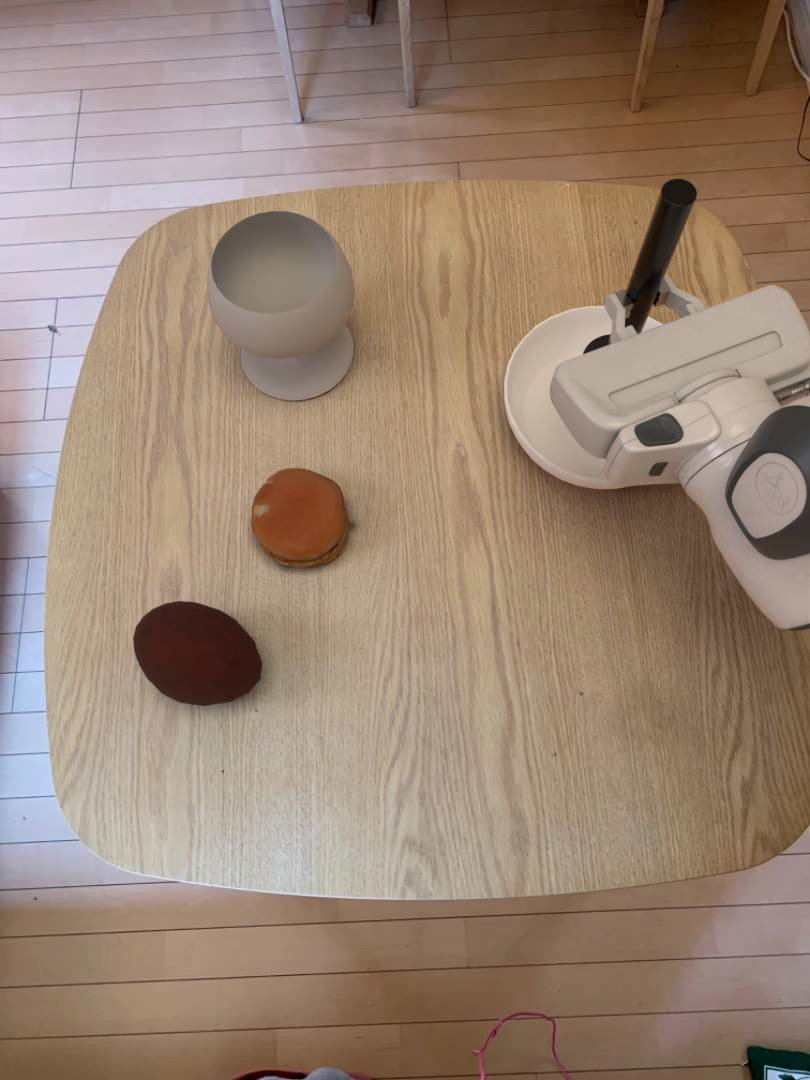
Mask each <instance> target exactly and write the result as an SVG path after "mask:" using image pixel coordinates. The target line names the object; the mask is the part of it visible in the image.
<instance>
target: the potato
mask: <svg viewBox="0 0 810 1080" xmlns="http://www.w3.org/2000/svg"><path fill="white" fill-rule="evenodd" d="M132 643H133V651H134V654H135V658H136V660H137V663H138V665H139V668H140V669H141V671H142V673H143V674H144V676H145V678H146V679H147V680H148V682H150V684H151V685H153V686H154V687H155V688H156V689H157V690H158V691H159V692H160V693H161V694H162V695H164V696H165V697H167V698H168V699H169V698H170V699H171V700H173V701H175V702H177V703H179V704H185V705H193V706H199V707H207V706H213V705H220V704H225V703H226V704H227V703H231V702H233V701H236V700H238V699H239V698H241V697H243V696H245V695H247V694H249V693H250V692H252V690H253V689H254V688H255V686H256V685H257V684H258V683H259V682H260V681H261V678H262V669H263V662H262V658H261V656H260V653H259V650H258V648H257V643H256V641H255V640H254V639H253V638H252V636H251V635H250V634H249V633H248V631H246V630H245V628H244V627H243V626H242V625H241V624H240V622H239V621H238V620H237V619H236V618H234V617H232V616H231V615H230V614H228V613H226V612H224V611H222V610H221V609H218V608H216V607H212V606H209V605H207V604H206V605H205V604H203V603H199V602H196V601H184V600H177V601H172V602H165V603H163V604H161V605H159V606H156V607H154V608H152V609H151V610H150V611H148V612H147V613H146V614H144V615H143V616H142V617H141V618H140V620H139V621H138V623H137V624H136V626H135V628H134V633H133V637H132Z"/></svg>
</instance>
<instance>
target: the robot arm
mask: <svg viewBox="0 0 810 1080" xmlns="http://www.w3.org/2000/svg"><path fill="white" fill-rule="evenodd" d="M627 295H628V293H627V291H626V289H621V290H618V291H615V292H613V293H609V294H607V295H606V297H605V300H604V302H603V303H604V304H603V306H605V310H606V311H607V313H608V315H609V316H610V318H611V320H612V322H613V323H612V332H611V344H610V345H607V346H604V347H602V348H599V349H596V350H594V351H591V352H588V353H586V354H583V355H580V356H578V357H575V358H572V359H569V360H567V361H564V362H562V363H560V364H559V365H558V366H557V367H556V370H555V372H554V375H553V378H552V381H551V385H550V399H551V401H552V403H553V405H554V407H555V409H556V411H557V413H558V414H559V416H560V418H561V419H562V421H563V422H564V424H565V425H566V427H567V428H568V430H569V431H570V433H571V434H572V436H573V437H574V438H575V440H576V441H577V442H578V444H579V445H580V446H581V447H582V448H583V449H584V450H585V451H586V452H587V453H589V454H590V455H592V456H594V457H597V458H602V459H606V460H605V463H604V468H603V471H604V474H605V477H606V479H607V480H608V482H609V483H610V484H611V485H613V486H616V487H623V488H627V487H626V486H628V487H636V486H637V487H638V486H649V485H673V484H674V485H676V484H677V485H679V484H680V485H681V487H682V489H683V490H684V492H685V494H686V495H687V496H688V497H689V499H690V500H691V501H692V502H693V503H694V504H695V505H697V506H698V507H699V508H700V510H701V511H702V512H703V515H704V516H705V517H706V519H707V522H708V524H709V529H710V533H711V538H712V540H713V542H714V544H715V546H716V547H717V550H718V551H719V553H720V554H721V556H722V558H723V560H724V561H725V563H726V564H727V566H728V568H729V569H730V570H731V571H730V572H732V574H733V575H734V577H735V578H736V580H737V581H738V583H739V585H740V586H741V587H742V589H743V590H744V592H745V593H746V594H747V596H748V597H749V599H750V600H751V601H752V602H753V604H754V605H755V606H756V608H758V610H759V611H760V612H761V613H762V615H764V617H766V619H768V621H769V622H771V623H772V624H773V625H774V627H776V628H778V629H780V630H785V631H790V632H800V631H806V630H807V631H808V630H810V329H809V327H808V325H807V323H806V320H805V318H804V317H803V314H802V312H801V311H800V309H799V307H798V305H797V303H796V302H795V300H794V298H793V297H792V295H791V294H790V292H789V291H788V290H787V289H785V288H782V287H780V286H779V285H778V286H777V285H775V284H769V285H765V286H763V287H760V288H757V289H755V290H752V291H749V292H747V293H744V294H742V295H739V296H736V297H733V298H730V299H728V300H725V301H722V302H719V303H717V304H714V305H711V306H709V307H706V306H705V304H704V302H703V300H702V299H701V298H699V297H697V296H695V295H693V294H691V293H689V292H688V291H686V290H683V289H682V288H680V287H677V286H676V284H675V283H674V281H673V280H672V278H671V276H670V275H669V274H668V273H666V274H665V276H664V279H663V281H662V283H661V286H660V288H659V291H658V293H657V296H656V298H655V301H654V303H653V306H654V308H658V307H661V306H665V307H666V308H668V309H670V310H671V311H673V312H675V314H677V315H679V316H680V317H679V318H677V319H675V320H671V321H669V322H666V323H664V324H663V323H662V324H663V325H661V326H658V327H655V328H653V329H650V330H647V331H645V332H642V333H639V334H637V332H636V331H635V329H634V327H633V326H632V325H630V326H627V327H626V328H625V319H626V318H628V317H629V316H630V314H631V310H632V309H633V306H634V303H633V301H632V299H631V298H630V297H628V296H627Z"/></svg>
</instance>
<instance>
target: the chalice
mask: <svg viewBox="0 0 810 1080" xmlns="http://www.w3.org/2000/svg"><path fill="white" fill-rule="evenodd" d="M353 277H354V276H353V271H352V268H351V265H350V263H349V261H348V259H347V256H346V254H345V252H344V250H343V248H342V246H341V245H340V244H339V242H338V241H337V240H336V239H335V237H334V236H333V235H332V234H331V232H329V230H328V229H326V228H325V227H324V226H323V225H321V224H320V223H318V222H317V221H316V220H314V219H312V218H310V217H308V216H305V215H303V214H300V213H297V212H291V211H287V210H271V211H264V212H259V213H255V214H253V215H251V216H247V217H245V218H243V219H242V220H240V221H238V222H236V223H235V224H233V226H231V227H230V228H229V229H228V230H227V231H226V232H224V233H223V235H222V236H221V238H220V239H219V240H218V242H217V243H216V244H215V247H214V249H213V251H212V253H211V256H210V258H209V261H208V268H207V273H206V293H207V301H208V307H209V310H210V313H211V315H212V318H213V321H214V322H215V325H216V326H217V327H218V329H219V330H220V332H221V333H222V334H223V336H224V337H225V338H226V339H228V340H229V341H230V342H231V343H233V344H234V345H235V346H236V347H238V348H239V349H240V363H241V366H242V370H243V373H244V374H245V376H246V377H247V379H248V381H249V382H250V383H251V384H252V385H253V386H254V387H255V388H256V389H257V390H259V391H260V392H262V393H264V394H265V395H267V396H270V397H272V398H275V399H279V400H285V401H304V400H309V399H312V398H315V397H318V396H321V395H323V394H325V393H327V392H328V391H330V390H331V389H333V388H334V387H335V386H337V385H338V384H339V383H340V382H341V381H342V379H343V378H344V377H345V375H346V374H347V373H348V371H349V369H350V367H351V364H352V362H353V357H354V351H355V350H354V340H353V337H352V333H351V331H350V329H349V327H348V326H347V324H346V323H347V320H348V319H349V317H350V314H351V311H352V309H353V307H354V299H355V282H354V278H353Z"/></svg>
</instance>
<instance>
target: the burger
mask: <svg viewBox="0 0 810 1080" xmlns="http://www.w3.org/2000/svg"><path fill="white" fill-rule="evenodd" d="M344 499H345V498H344V495H343V492H342V488H341V487H340V485H339V484H338V483H337V482H336V481H335V480H333V479H331V478H329V477H328V476H326V475H323V474H320V473H318V472H315V471H313V470H310V469H306V468H300V467H293V468H292V467H290V468H284V469H280V470H277V472H275V473H273V474H271V475H270V476H269V477H268V478H267V479H266V482H265V483H264V484H263V485H262V486H260V487H259V489H258V491H256V494H255V495H254V497H253V501H252V506H251V518H250V526H251V529H252V533H253V535H254V537H255V538H256V540H257V543H258V544H259V547H260V549H262V551H263V552H264V554H265V555H267V557H268V558H270V559H271V560H273V561H274V562H275V563H277V564H278V565H280V566H288V567H292V568H299V569H305V568H312V567H317V566H320V565H326V564H329V563H331V562H332V561H334V560H335V559H336V558H337V557H338V556H339V555H340V553H341V552H342V551H343V549H344V547H345V545H346V544H347V541H348V539H349V533H350V519H349V516H348V512H347V509H346V506H345V500H344Z"/></svg>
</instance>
